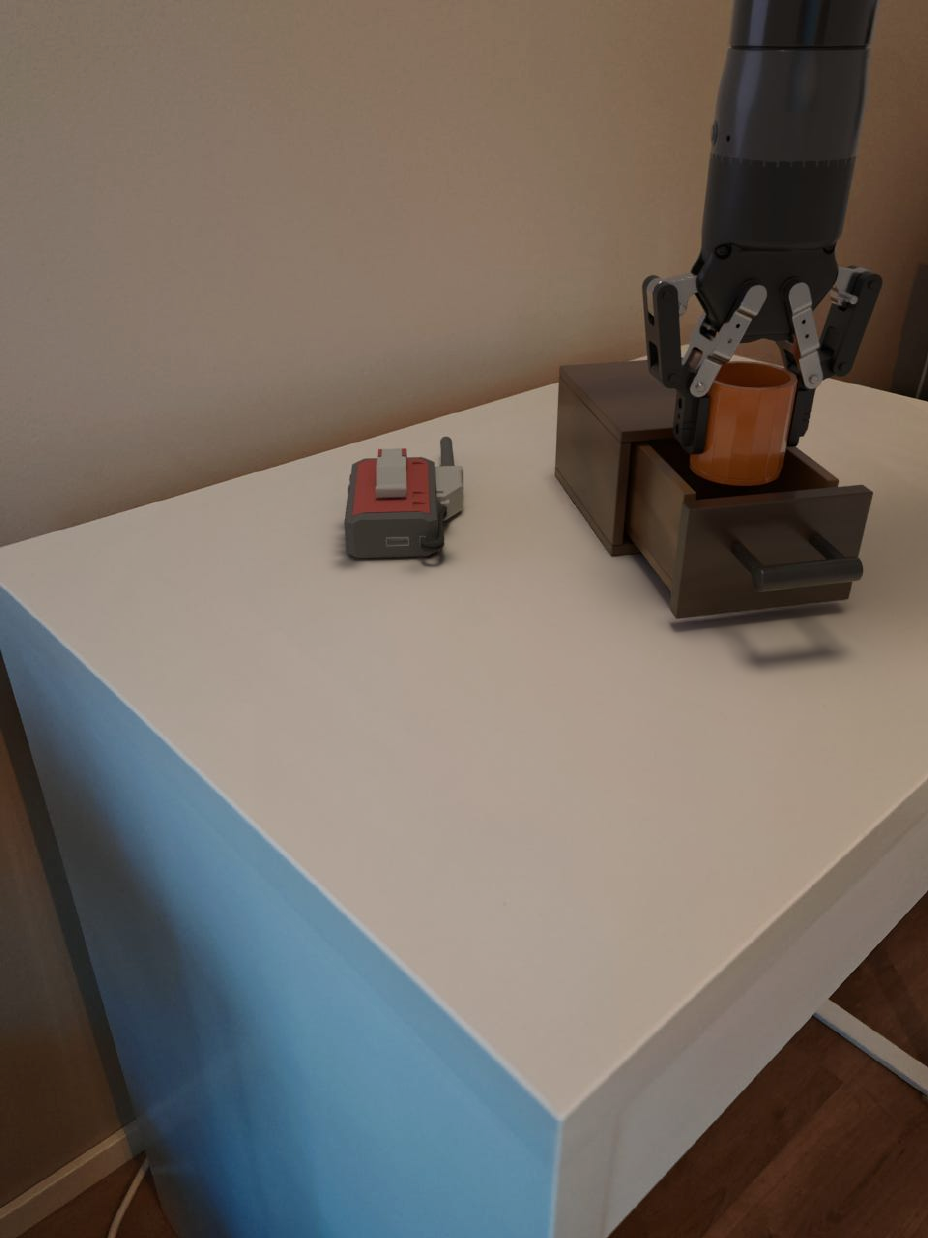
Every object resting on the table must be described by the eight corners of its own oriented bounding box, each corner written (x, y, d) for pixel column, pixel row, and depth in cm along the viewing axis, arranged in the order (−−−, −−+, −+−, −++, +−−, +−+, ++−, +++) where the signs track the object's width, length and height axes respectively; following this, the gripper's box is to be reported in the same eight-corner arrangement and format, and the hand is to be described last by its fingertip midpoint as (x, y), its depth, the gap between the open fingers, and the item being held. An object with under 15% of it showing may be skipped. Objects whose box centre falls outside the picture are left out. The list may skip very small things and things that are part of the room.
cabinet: (779, 539, 69) (801, 417, 64) (611, 556, 67) (621, 431, 62) (698, 462, 81) (712, 354, 77) (554, 474, 79) (559, 365, 75)
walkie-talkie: (471, 565, 66) (458, 454, 83) (470, 506, 64) (458, 405, 81) (342, 568, 66) (356, 457, 83) (337, 510, 64) (353, 407, 81)
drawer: (889, 638, 56) (919, 525, 52) (705, 660, 54) (723, 545, 51) (752, 509, 71) (768, 414, 68) (605, 523, 70) (612, 426, 66)
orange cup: (755, 448, 64) (770, 358, 61) (796, 481, 59) (814, 385, 56) (675, 455, 63) (686, 363, 60) (710, 489, 58) (724, 392, 55)
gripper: (682, 158, 47) (649, 479, 56) (948, 149, 49) (876, 459, 58) (630, 142, 53) (608, 434, 62) (868, 136, 56) (814, 417, 64)
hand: (738, 445), depth 60 cm, fingers closed on orange cup, 5 cm apart
